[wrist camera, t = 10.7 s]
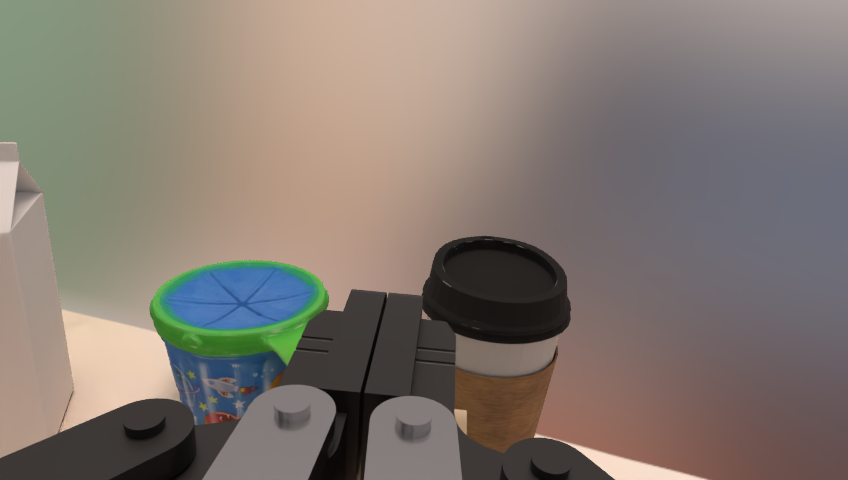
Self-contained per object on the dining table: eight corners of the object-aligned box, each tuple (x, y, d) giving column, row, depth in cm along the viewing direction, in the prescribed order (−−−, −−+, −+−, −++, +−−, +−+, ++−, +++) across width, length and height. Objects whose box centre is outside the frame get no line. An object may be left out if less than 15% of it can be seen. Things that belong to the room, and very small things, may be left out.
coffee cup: (520, 433, 44) (551, 235, 39) (557, 529, 36) (602, 298, 31) (402, 435, 43) (416, 232, 38) (413, 534, 35) (433, 296, 30)
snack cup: (134, 391, 46) (119, 263, 42) (269, 350, 52) (266, 236, 48) (214, 534, 35) (203, 377, 31) (374, 460, 41) (381, 322, 37)
